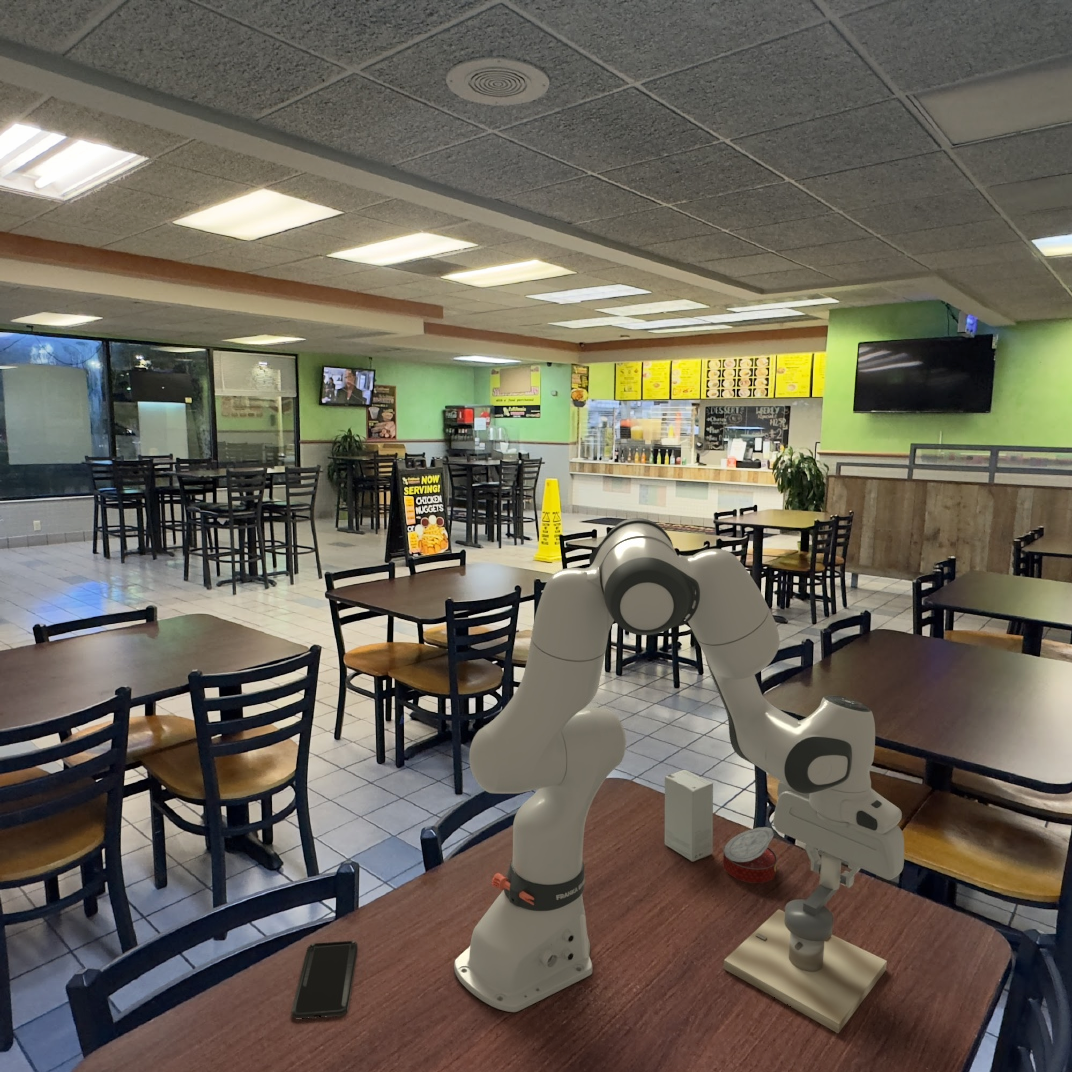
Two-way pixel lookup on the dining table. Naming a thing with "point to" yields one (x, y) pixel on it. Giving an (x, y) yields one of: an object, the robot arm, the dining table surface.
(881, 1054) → the dining table surface
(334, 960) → the phone
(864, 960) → the mount board
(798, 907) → the white knob lever
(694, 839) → the skincare box
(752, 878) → the canned food
